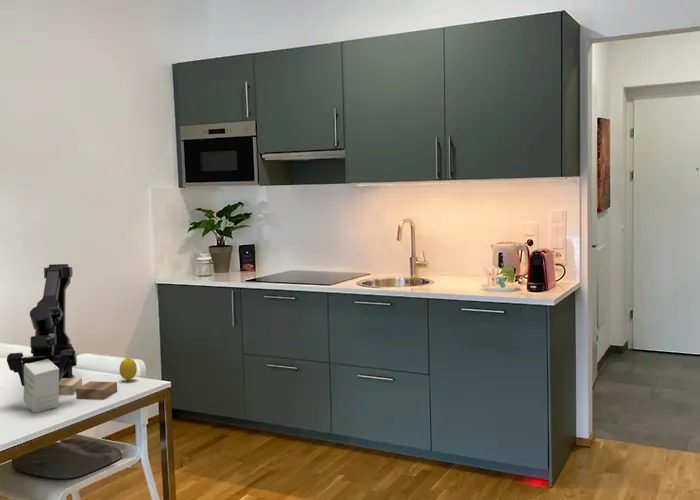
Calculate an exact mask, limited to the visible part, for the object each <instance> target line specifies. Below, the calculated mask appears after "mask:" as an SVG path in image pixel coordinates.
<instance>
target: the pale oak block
mask: <svg viewBox="0 0 700 500" xmlns="http://www.w3.org/2000/svg"><path fill="white" fill-rule="evenodd" d="M81 386H83V378H82V377H72V378H62V379H61V380H60V382H59V396H69V395H70V396H71V395H74V394H75V393H76V389H77V388H79V387H81Z"/></svg>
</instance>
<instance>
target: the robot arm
mask: <svg viewBox="0 0 700 500" xmlns="http://www.w3.org/2000/svg"><path fill="white" fill-rule="evenodd" d="M43 277H44V278H43V279H45V281H44V282H45V283H44V290H43V294H42V295H43V296H42V298H41V299H40V300H39V301H38V302H37V304H36V306H34V307H33V308H32V309H31V310H30V311H29V317H30V320H31V324H32V327H33V329H34V331H35V332H34V333H35V334H34V335H33V336H30V347H29V348H30V353H31V354H32V356H31V355H29V356H28V355H27V356H24V354H23V352H11V353H9V354H8V355H7V357H6V363H7V366H8V368H9V370H10V371H13V372H14V373H15V374H16V373H17V374H18V376H19V379H20V383H21V387H24V364H28V363H33V362H37V361H41V360H45V359H49V360H50V361H51V362H52V363H53V364H54V365H56V366H57V367H58V368H59V382H60V380H61V379H62V378H75V377H74V376H75V375H74V374H73V367H76V366H77V363H78V358H77V353H76V350H75V349H74V347H73V345H72V343H71V339H70V337H69V336H68V334H67V333H66V302H67V301H66V298H67V297H66V292H67V291H66V290H67V288H68V287H69V285H70V284H71V283H72V282H71V279H72V278H73V267H72V266H69V264H68V263H59V264H58V263H57V264H56V263H55V264H53V263H52V264H49V265H48V267H44V268H43Z"/></svg>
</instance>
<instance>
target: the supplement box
mask: <svg viewBox="0 0 700 500" xmlns="http://www.w3.org/2000/svg"><path fill="white" fill-rule="evenodd" d="M59 396H60V395H59V368H58V367H57V366H56V365H54V364H53V363H52V362H51V361H50V360H49V359H45V360H41V361H37V362H33V363H28V364H24V386H23V403H24V404H25V405H26V407H28V408H29V410H31V411H32V412H33V413H35V414H36V413H40V412H42V411H46V410H49V409H53V408H57V407H59Z"/></svg>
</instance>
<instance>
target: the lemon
mask: <svg viewBox="0 0 700 500" xmlns="http://www.w3.org/2000/svg"><path fill="white" fill-rule="evenodd" d="M137 371H138V368H137V364H136V362H135V360H134V359H132V358H130V357H126V358H125V359H123V360H122V361H121V362H120V365H119V374H120V376H121V378H122V379H124V380H126V381H127V382H130V381H131V380H132V379H133V378H135V376H136V375H137Z"/></svg>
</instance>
